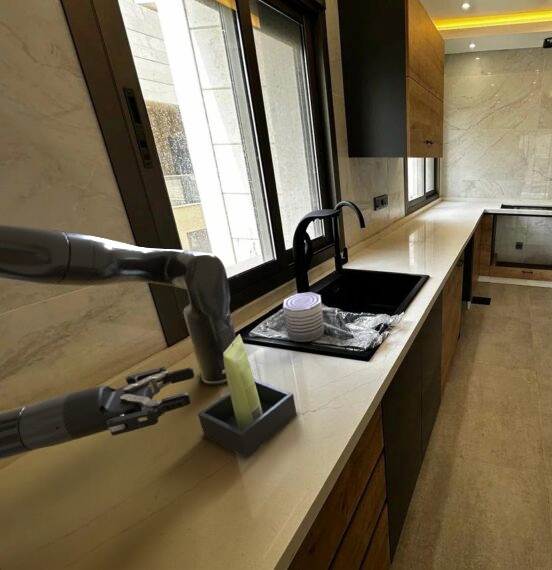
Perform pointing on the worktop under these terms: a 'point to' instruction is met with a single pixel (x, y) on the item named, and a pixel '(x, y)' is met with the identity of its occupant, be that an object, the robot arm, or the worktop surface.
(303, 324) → the can
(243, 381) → the tube
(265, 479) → the worktop surface
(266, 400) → the tub
